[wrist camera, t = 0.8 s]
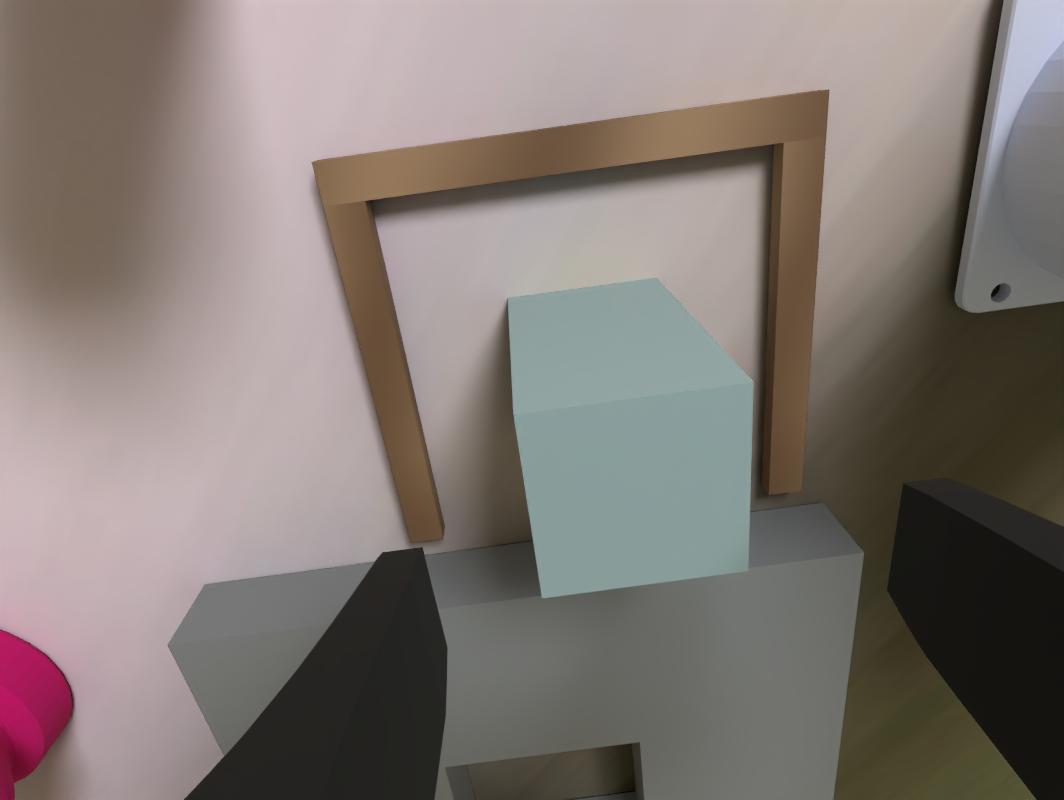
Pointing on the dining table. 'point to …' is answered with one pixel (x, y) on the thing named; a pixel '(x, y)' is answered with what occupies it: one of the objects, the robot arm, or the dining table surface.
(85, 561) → the dining table surface
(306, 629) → the socket board
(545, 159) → the frame
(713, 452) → the peg
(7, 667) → the pepper mill
